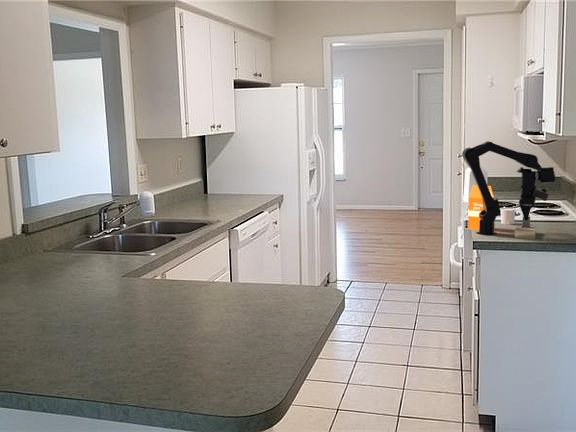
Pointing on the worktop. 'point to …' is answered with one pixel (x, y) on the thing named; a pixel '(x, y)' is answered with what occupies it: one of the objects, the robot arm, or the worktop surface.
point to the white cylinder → (507, 216)
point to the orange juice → (475, 207)
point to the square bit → (526, 223)
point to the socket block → (525, 232)
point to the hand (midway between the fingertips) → (526, 218)
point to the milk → (471, 182)
